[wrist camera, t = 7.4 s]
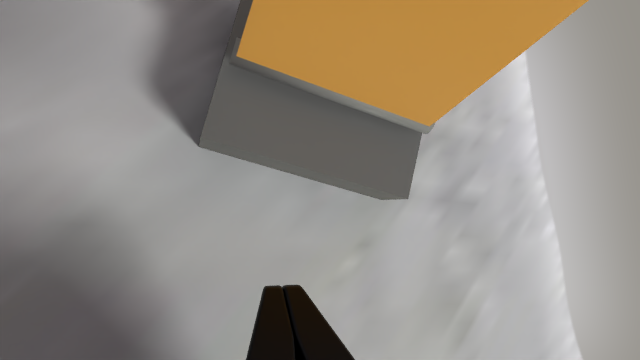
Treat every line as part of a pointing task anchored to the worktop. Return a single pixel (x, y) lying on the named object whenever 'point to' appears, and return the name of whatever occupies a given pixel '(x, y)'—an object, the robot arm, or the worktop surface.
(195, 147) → the worktop surface
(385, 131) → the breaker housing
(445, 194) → the worktop surface
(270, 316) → the robot arm
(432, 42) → the orange square tile
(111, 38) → the worktop surface
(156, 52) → the worktop surface
